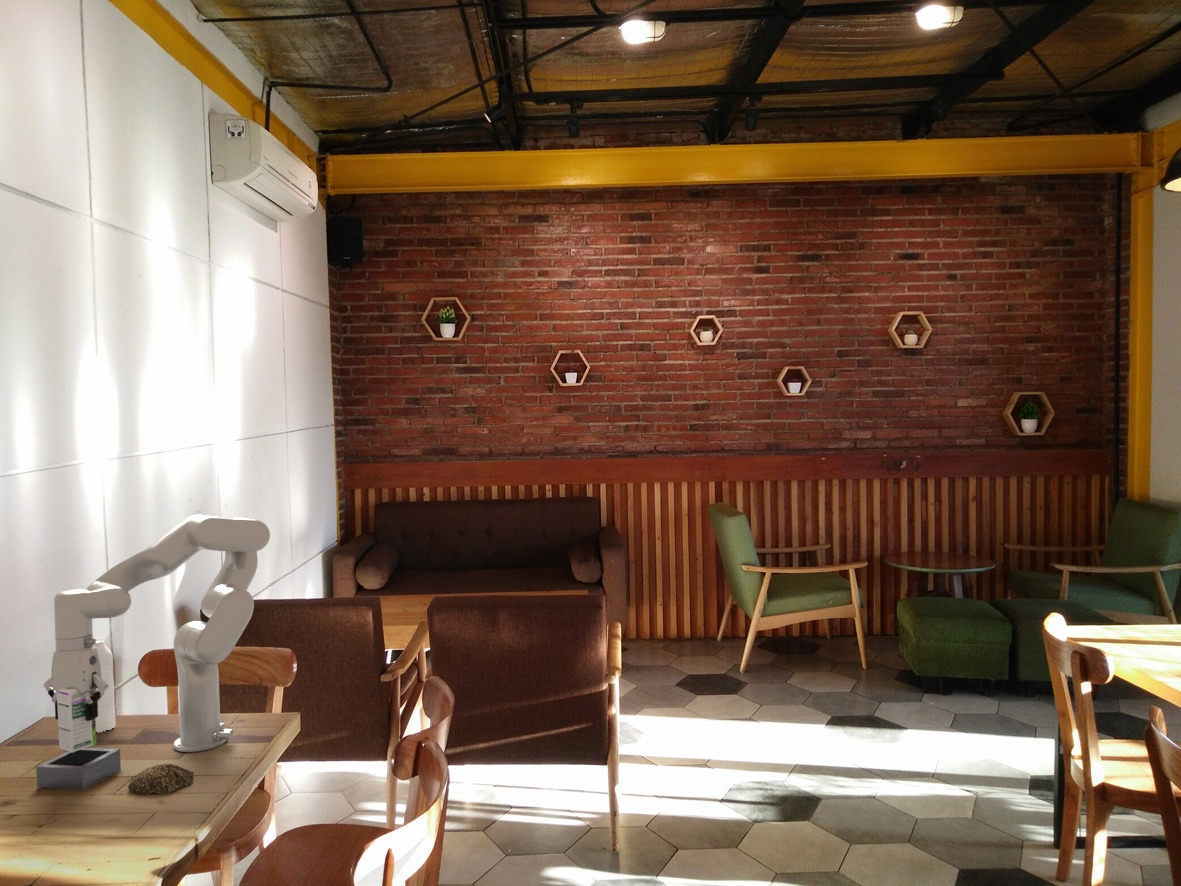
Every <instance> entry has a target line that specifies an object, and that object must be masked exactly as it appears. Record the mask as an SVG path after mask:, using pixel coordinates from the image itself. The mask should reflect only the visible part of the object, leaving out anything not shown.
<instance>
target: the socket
mask: <svg viewBox="0 0 1181 886" xmlns="http://www.w3.org/2000/svg"><path fill="white" fill-rule="evenodd" d="M35 769H36V772H35V773H36V787H39V788H38V789H40V788H48V789H47V790H57V789H62V790H63V791H75V792H76V791H77V792H78V791H79V792H84V791H86V790H87V789H89V788H91V787H93V786H94V784H95V785H96V783H97V784H99V783H100V782H102V781H103V780H106V779H107V778H109V777H111V776H112V775H114V774H116V773H118V772H119V770H120V771H121V770H122V766H121V749H119V748H102V747H99V748H98V747H88V748H84V749H81V750H78V751H75V752H73V753H72V752H68V751H65V752H64V753H61V754H59V755H57V756H56V757H55V756H54V757H53V758H51V759H50V760H47V761H45V762H43V763H41V764H39V765H37V766H36V767H35ZM110 775H111V776H110ZM49 788H50V789H49ZM62 790H61V791H62Z"/></svg>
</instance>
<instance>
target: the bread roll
mask: <svg viewBox="0 0 1181 886" xmlns="http://www.w3.org/2000/svg"><path fill="white" fill-rule="evenodd" d="M192 778H194V771H190V769H186V768H184V767H182V766H179V765H178V764H177V765H176V764H172V763H163V764H162V763H161V764H156V765H154V766H151V767H147V768H145V769H144V770H142V771H140V772H139V773H137V774H135V775H134V778H132V779H131V781H130V782H129V784H128V787H127V788H128V791H129V792H132V793H133V794H135V795H144V796H149V795H154V796H155V795H159V796H160V795H161V796H162V795H167V794H170V793H171V794H172V792H175V790H178V789H180V788H182V787H189V786H192V784H193V782H194V779H192Z"/></svg>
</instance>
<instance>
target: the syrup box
mask: <svg viewBox="0 0 1181 886" xmlns="http://www.w3.org/2000/svg"><path fill="white" fill-rule="evenodd" d="M90 689H91V686H90ZM90 695H91V697H92V694H91V692H90ZM87 703H88V702H87V701H86V699H85V697H84V695H83V693H78V692H77V690H76V689H70V688H61V690H59V692H57V707H58V720H57V722H58V723H57V724H58V742H59V743H58V746H59V749H60V750H63V751H65V752H67V751H68V752H72V753H73V752H75V751H78V750H81V749H84V748H92V747H95V746H96V745H97V733H96V722H95V718H94V719H92V720H90V721H86V718H85V704H87Z"/></svg>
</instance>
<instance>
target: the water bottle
mask: <svg viewBox="0 0 1181 886" xmlns="http://www.w3.org/2000/svg"><path fill="white" fill-rule="evenodd" d="M94 639H95V640H96V643H95V644H94V645H93V647H96V649H97V652H98V655H99V660H100V667H101V677H102V680H103V681H105V682H106V683H107V684H108V688H107V689H106V691H105V692H104V694H103V695H102V697H101V698H100V700H98V717H97V718H95V722H96V732H97V733H104V732H107V731H106V730H109V731H111V730H112V728H113V729H115V728H116V711H115V709H116V708H115V707H116V705H115V690H114V689H115V683H114V679H115V678H114V662H113V661H114V656H113V652H112V651H111V650H110V648H109V647H108V646H107V645H106V644H105V640H104V637H97V638H94ZM96 690H98V688H96ZM103 731H104V732H103Z"/></svg>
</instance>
